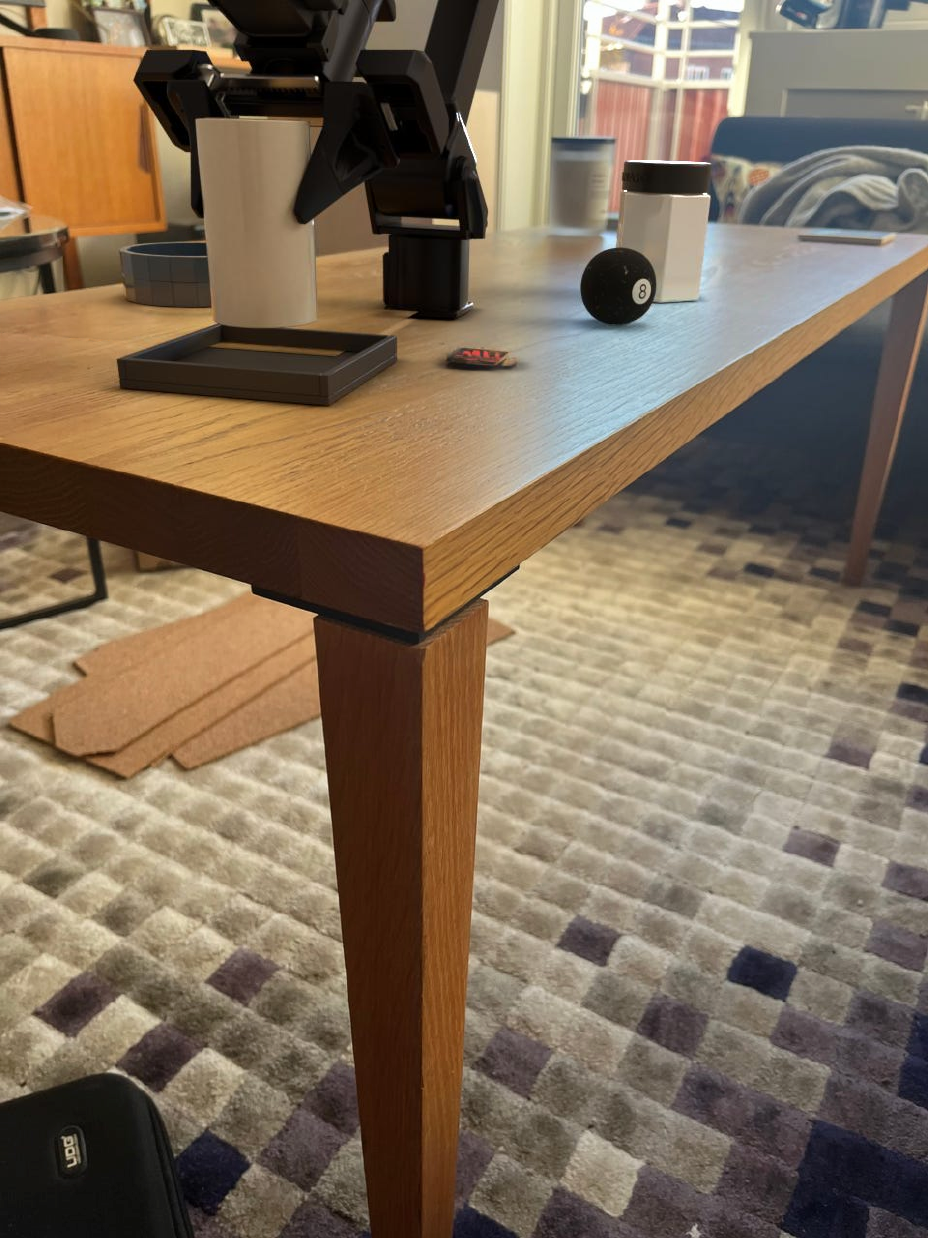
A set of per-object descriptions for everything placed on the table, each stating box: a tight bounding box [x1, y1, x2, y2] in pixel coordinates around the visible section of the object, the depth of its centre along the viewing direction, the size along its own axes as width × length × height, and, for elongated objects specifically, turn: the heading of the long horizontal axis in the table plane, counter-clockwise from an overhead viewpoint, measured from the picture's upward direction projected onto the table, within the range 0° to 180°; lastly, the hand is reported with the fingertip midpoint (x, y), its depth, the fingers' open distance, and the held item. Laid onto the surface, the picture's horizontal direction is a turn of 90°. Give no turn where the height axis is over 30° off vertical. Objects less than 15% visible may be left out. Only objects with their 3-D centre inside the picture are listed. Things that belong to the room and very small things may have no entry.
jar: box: [615, 160, 713, 304], centre depth 96 cm, size 9×8×12 cm
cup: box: [195, 117, 319, 328], centre depth 59 cm, size 6×6×11 cm
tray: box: [116, 323, 398, 407], centre depth 63 cm, size 13×13×2 cm
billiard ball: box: [579, 247, 657, 326], centre depth 81 cm, size 6×6×6 cm
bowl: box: [118, 241, 212, 308], centre depth 86 cm, size 12×12×4 cm
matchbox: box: [446, 346, 518, 368], centre depth 68 cm, size 5×5×1 cm
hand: (246, 215), depth 58 cm, fingers closed on cup, 6 cm apart
